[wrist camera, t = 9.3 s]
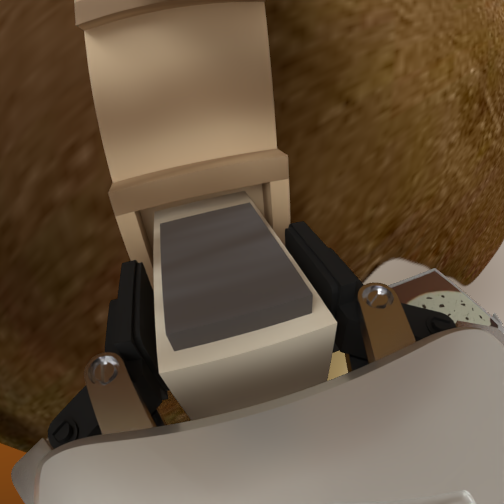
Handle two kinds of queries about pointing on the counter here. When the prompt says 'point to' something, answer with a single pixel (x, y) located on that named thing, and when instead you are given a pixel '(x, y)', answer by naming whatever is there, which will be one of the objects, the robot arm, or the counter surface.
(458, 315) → the food container
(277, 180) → the rail
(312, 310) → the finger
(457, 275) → the counter surface
